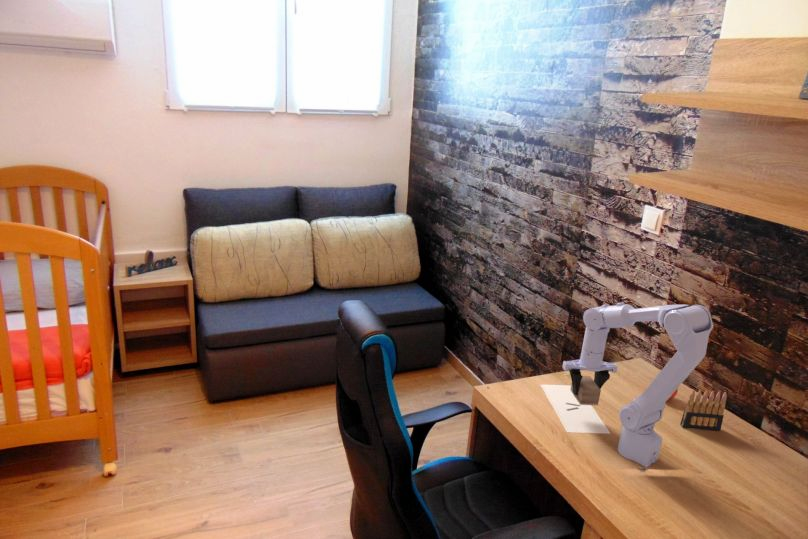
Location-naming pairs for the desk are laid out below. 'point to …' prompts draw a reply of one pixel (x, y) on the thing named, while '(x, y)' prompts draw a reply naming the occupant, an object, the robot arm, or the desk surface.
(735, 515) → the desk surface
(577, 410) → the plank
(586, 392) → the block
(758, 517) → the desk surface
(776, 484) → the desk surface
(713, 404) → the ammunition clip
